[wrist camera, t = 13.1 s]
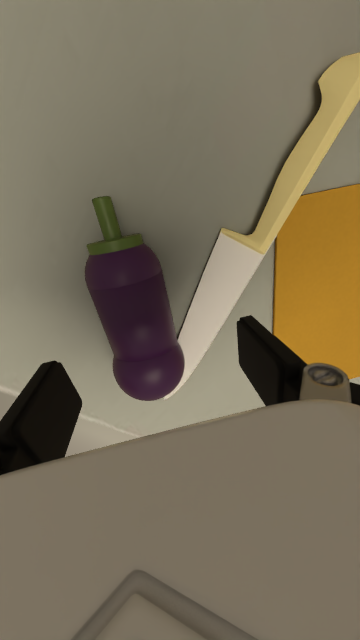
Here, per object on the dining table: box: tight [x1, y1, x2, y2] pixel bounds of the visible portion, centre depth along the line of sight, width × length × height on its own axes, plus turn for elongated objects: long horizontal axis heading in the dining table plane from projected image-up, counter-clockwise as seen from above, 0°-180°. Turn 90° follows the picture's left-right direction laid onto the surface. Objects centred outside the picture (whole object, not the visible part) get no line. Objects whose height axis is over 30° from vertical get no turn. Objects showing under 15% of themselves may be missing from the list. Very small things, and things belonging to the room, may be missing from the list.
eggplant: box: [85, 196, 185, 401], centre depth 17 cm, size 16×6×6 cm, turn 10°
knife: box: [164, 52, 360, 400], centre depth 19 cm, size 1×32×5 cm
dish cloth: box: [273, 184, 360, 379], centre depth 23 cm, size 24×16×1 cm, turn 10°
